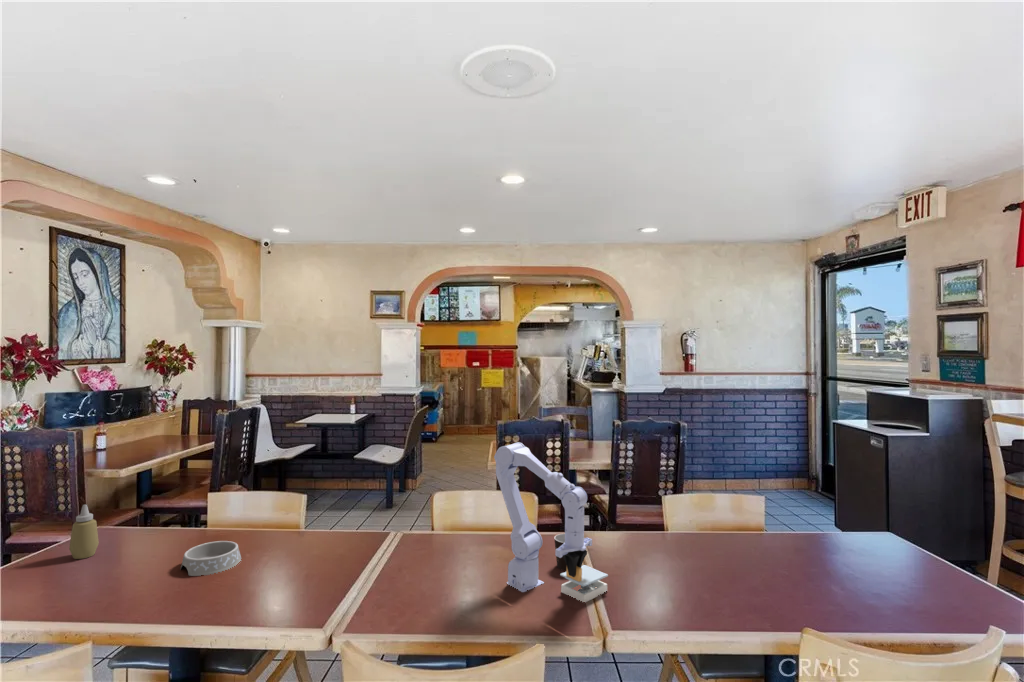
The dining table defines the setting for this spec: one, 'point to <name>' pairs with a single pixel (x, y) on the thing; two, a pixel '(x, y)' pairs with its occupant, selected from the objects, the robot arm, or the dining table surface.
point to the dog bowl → (211, 558)
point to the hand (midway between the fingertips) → (574, 574)
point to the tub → (591, 593)
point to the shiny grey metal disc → (583, 591)
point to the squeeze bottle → (84, 535)
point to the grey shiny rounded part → (586, 587)
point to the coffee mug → (558, 542)
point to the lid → (585, 575)
